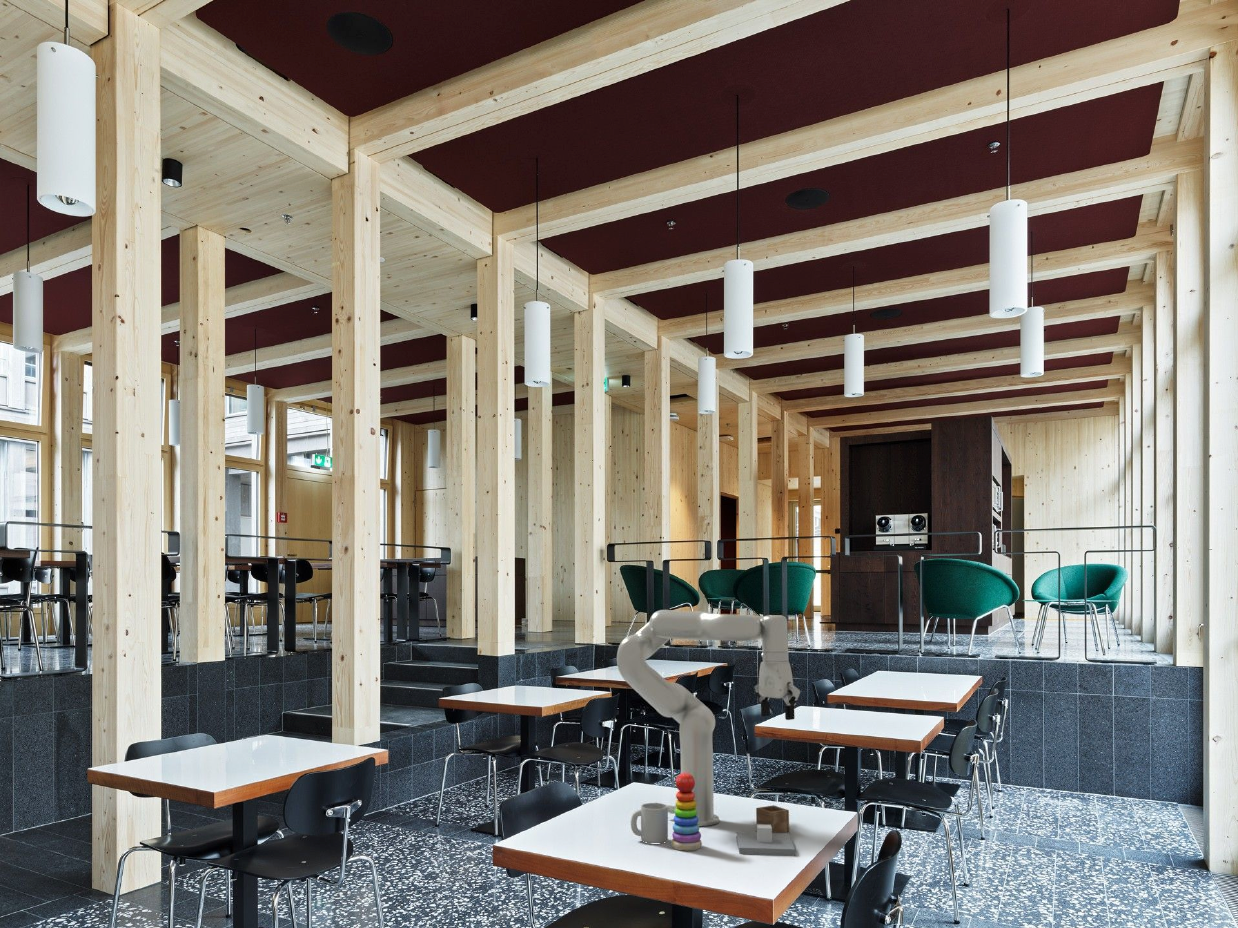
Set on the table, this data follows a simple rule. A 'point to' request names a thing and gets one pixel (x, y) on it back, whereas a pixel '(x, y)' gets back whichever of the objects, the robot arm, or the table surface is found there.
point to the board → (764, 842)
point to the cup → (651, 823)
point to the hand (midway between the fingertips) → (777, 717)
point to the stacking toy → (686, 816)
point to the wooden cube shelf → (773, 818)
